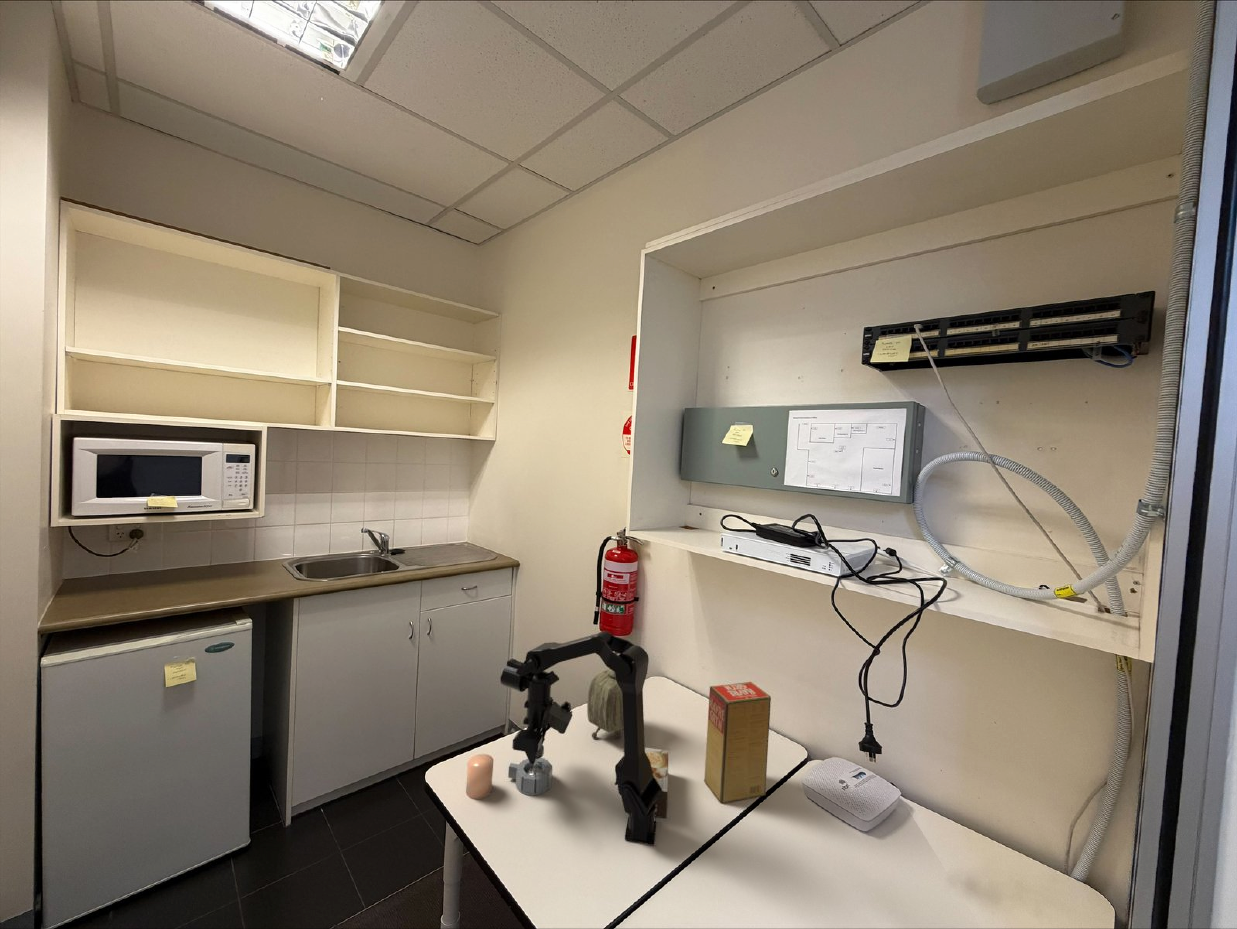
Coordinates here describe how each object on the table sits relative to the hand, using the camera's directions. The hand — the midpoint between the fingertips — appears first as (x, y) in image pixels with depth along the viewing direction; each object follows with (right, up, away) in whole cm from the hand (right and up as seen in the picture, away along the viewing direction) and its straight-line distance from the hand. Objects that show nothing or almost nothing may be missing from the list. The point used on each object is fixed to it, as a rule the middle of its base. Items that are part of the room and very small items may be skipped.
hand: (535, 758), depth 120 cm
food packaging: (+51, -10, +3) cm, 52 cm away
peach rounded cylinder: (-13, -6, -4) cm, 15 cm away
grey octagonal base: (-1, -6, 0) cm, 6 cm away
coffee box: (+30, -5, +7) cm, 31 cm away
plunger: (0, -4, 0) cm, 4 cm away
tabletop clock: (+19, -7, +23) cm, 31 cm away
